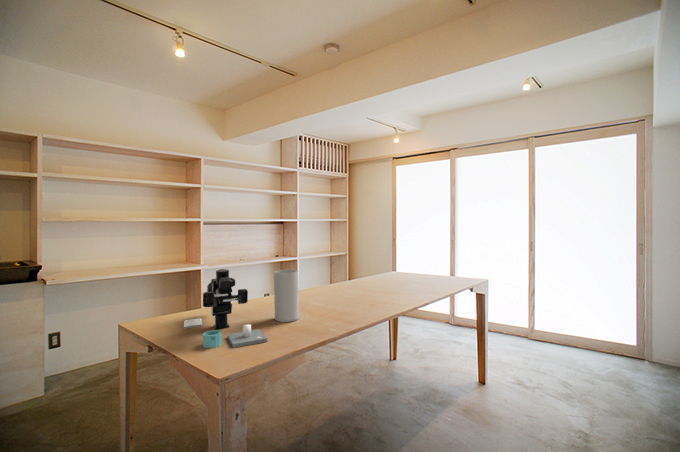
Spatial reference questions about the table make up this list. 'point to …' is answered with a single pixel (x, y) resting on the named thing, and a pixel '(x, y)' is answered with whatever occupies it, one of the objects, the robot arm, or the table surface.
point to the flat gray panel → (246, 337)
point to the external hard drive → (192, 323)
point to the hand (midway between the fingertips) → (228, 303)
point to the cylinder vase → (286, 295)
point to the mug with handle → (212, 339)
